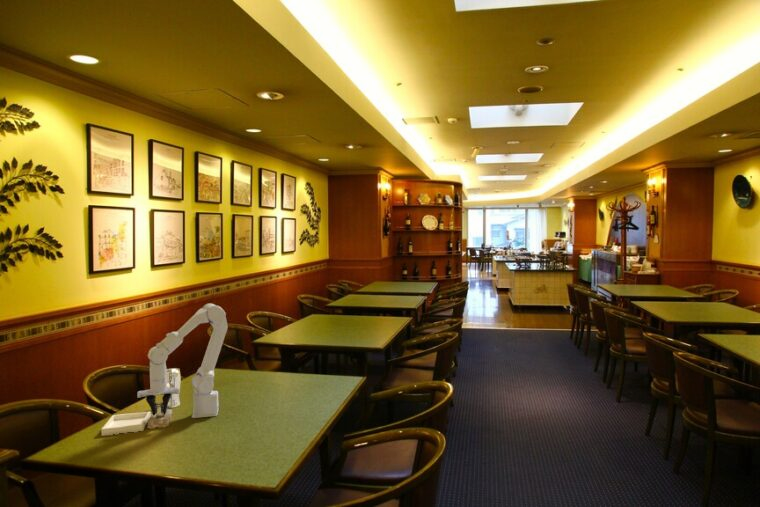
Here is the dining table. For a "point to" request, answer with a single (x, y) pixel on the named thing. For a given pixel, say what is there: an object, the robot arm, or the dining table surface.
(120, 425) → the tray
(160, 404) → the pin
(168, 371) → the beer glass
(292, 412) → the dining table surface
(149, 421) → the block
